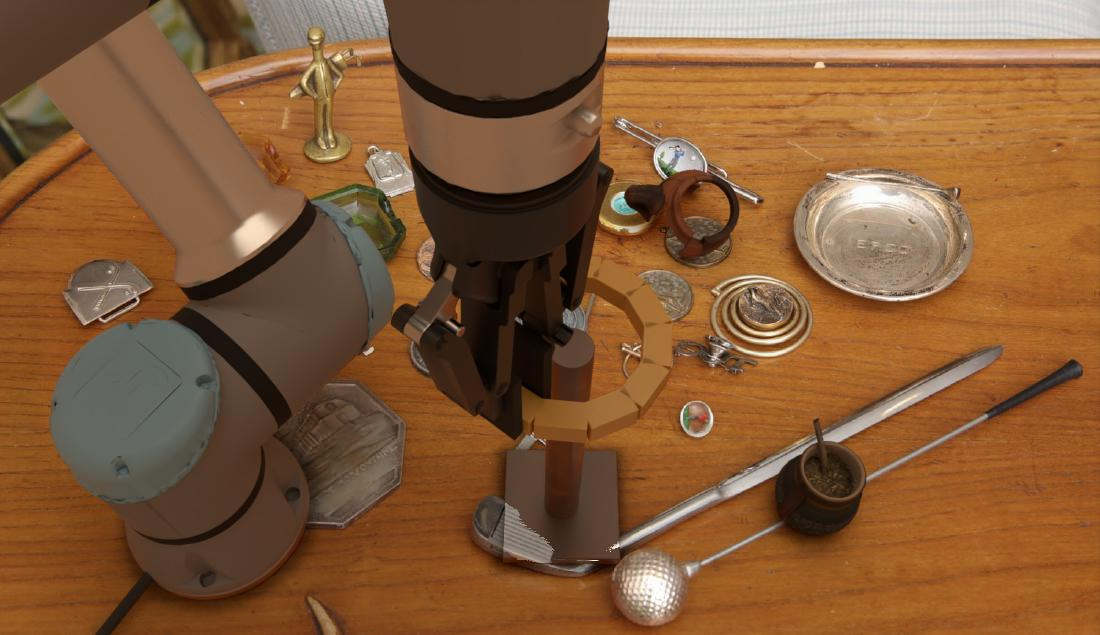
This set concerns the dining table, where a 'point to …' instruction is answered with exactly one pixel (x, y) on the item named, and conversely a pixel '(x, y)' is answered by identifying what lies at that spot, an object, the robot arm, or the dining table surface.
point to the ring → (641, 385)
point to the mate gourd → (820, 487)
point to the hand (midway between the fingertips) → (515, 407)
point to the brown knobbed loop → (671, 192)
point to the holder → (568, 476)
